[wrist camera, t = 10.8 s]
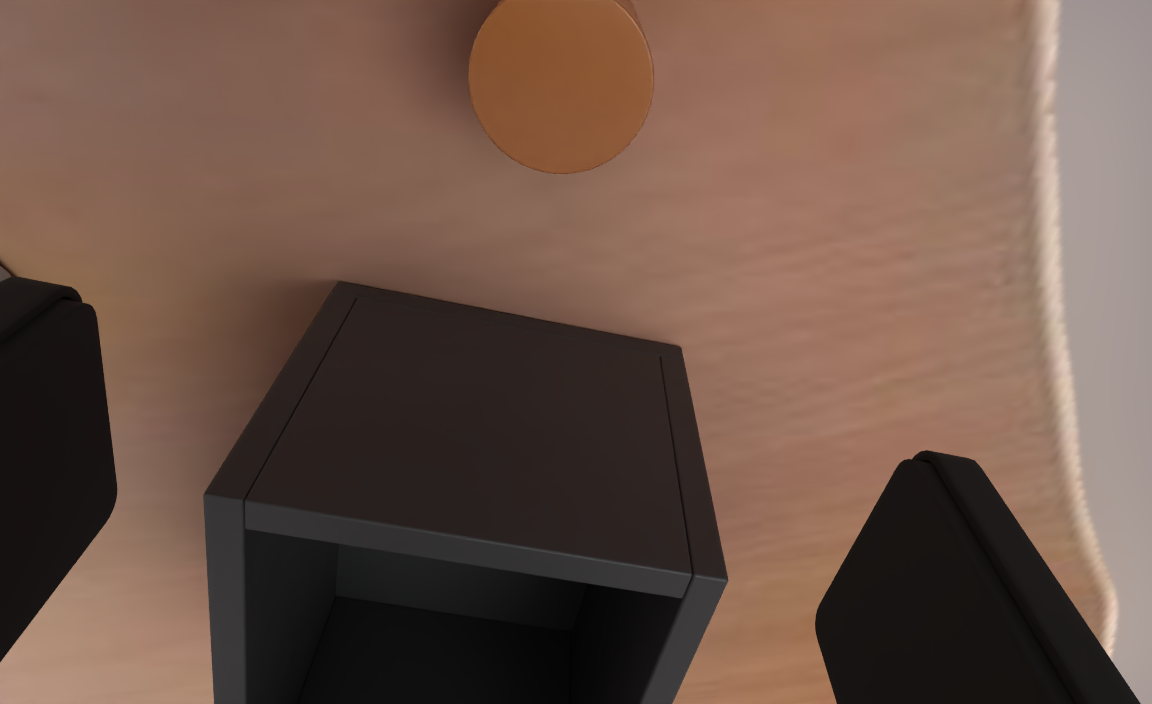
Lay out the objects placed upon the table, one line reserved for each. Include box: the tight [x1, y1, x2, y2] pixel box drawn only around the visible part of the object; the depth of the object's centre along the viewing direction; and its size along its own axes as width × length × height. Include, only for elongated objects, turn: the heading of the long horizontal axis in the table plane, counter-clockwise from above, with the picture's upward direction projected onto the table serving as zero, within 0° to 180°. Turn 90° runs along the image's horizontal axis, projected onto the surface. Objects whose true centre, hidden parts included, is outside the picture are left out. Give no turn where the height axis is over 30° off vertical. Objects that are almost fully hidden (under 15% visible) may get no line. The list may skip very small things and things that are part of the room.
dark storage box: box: [203, 282, 728, 704], centre depth 26 cm, size 16×12×11 cm
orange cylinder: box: [468, 0, 654, 174], centre depth 20 cm, size 4×4×5 cm
